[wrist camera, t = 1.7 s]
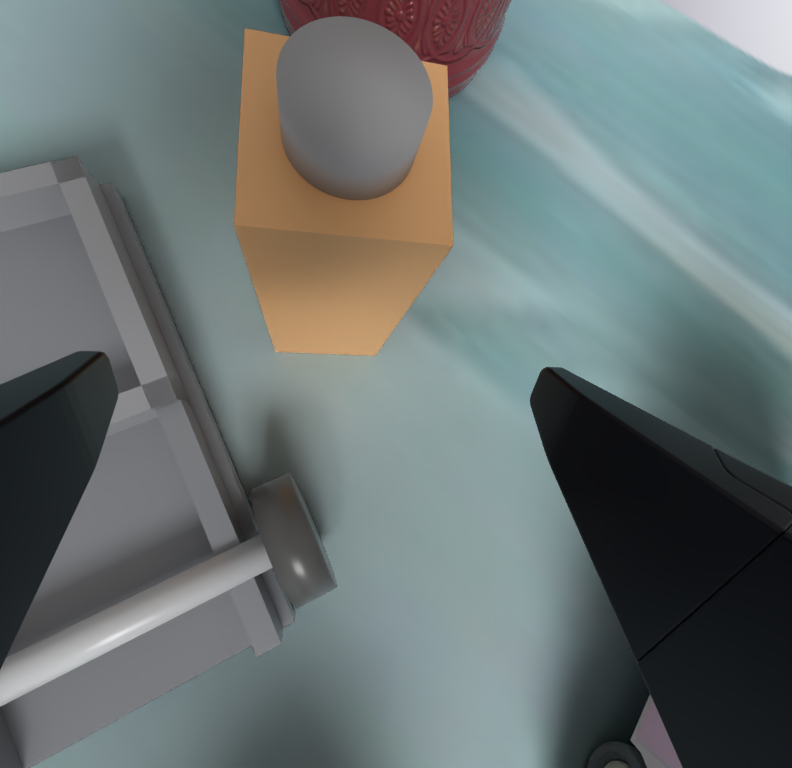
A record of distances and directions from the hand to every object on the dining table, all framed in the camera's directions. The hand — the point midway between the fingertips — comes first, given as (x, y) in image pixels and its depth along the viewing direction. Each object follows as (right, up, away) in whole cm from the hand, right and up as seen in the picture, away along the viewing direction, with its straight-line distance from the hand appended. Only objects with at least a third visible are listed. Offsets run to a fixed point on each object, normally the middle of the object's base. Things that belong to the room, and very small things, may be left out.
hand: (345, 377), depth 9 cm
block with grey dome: (-3, +4, +13) cm, 14 cm away
